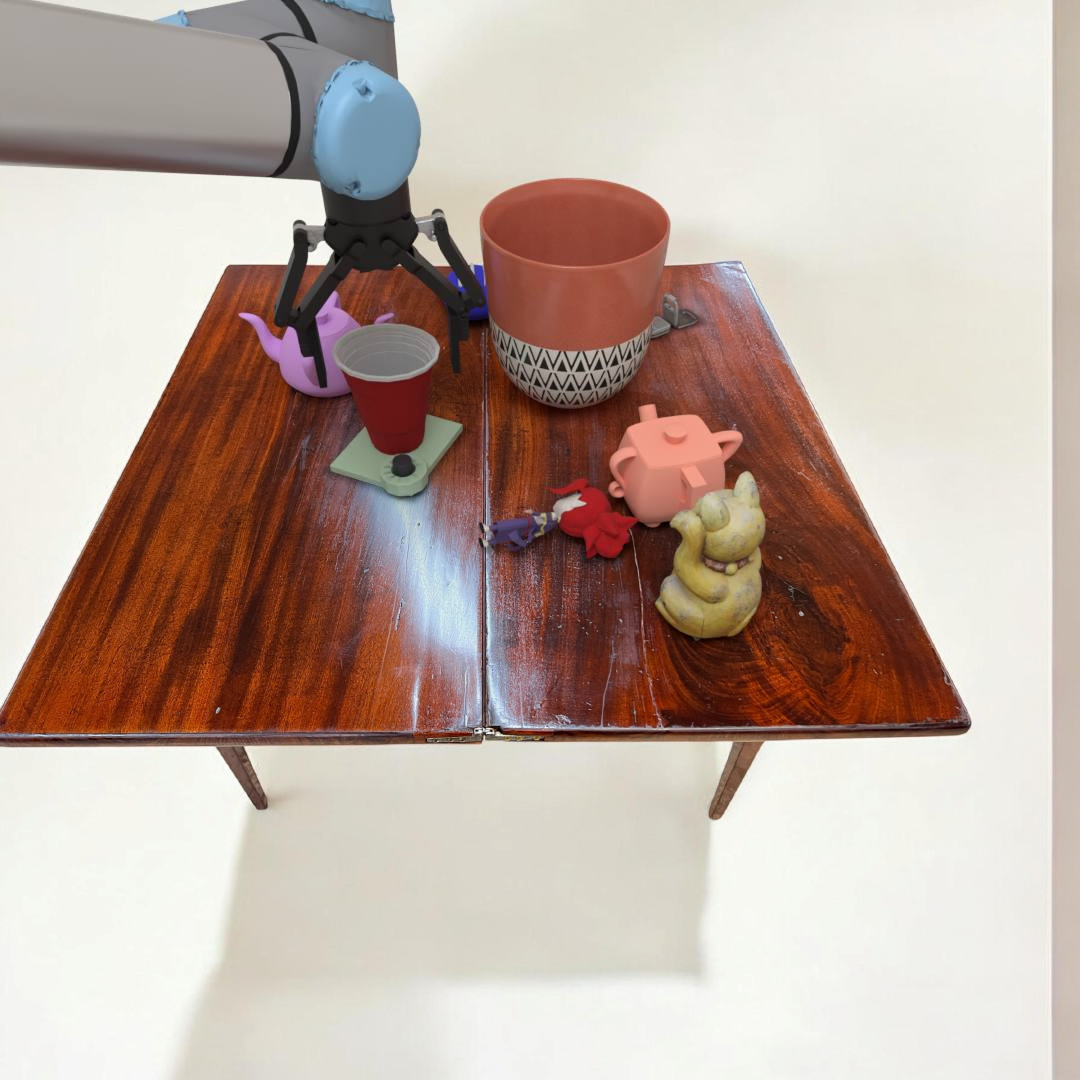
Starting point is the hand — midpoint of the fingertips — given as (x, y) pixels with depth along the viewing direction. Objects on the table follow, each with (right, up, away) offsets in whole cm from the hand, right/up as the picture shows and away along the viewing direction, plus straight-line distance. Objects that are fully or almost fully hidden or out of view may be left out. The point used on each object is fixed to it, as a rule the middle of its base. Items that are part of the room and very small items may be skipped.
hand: (390, 373), depth 88 cm
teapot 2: (+29, -13, +2) cm, 32 cm away
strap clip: (+32, +11, +24) cm, 42 cm away
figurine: (+17, -18, -3) cm, 25 cm away
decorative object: (+6, +14, +27) cm, 31 cm away
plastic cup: (0, -6, +7) cm, 9 cm away
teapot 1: (-10, +3, +17) cm, 20 cm away
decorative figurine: (+31, -24, -9) cm, 40 cm away
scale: (0, -7, +7) cm, 10 cm away
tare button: (+1, -10, +1) cm, 10 cm away
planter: (+19, +1, +15) cm, 24 cm away
